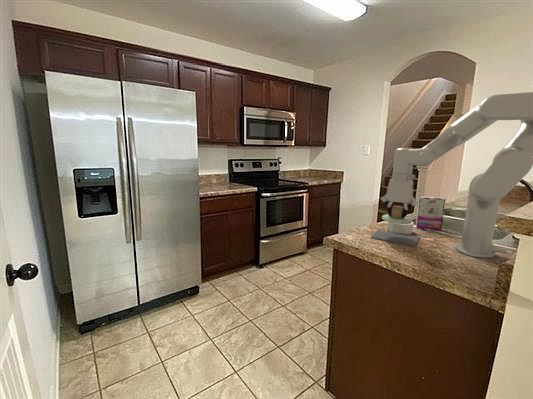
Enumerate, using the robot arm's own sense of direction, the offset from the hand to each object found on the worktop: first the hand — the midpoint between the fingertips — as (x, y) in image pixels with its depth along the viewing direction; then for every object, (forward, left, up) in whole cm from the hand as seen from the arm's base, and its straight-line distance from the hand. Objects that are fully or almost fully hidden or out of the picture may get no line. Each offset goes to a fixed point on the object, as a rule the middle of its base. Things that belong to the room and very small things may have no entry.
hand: (396, 216), depth 120 cm
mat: (0, 0, -10) cm, 10 cm away
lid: (0, 0, -2) cm, 2 cm away
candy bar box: (-11, -26, -11) cm, 30 cm away
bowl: (0, -13, -10) cm, 16 cm away
